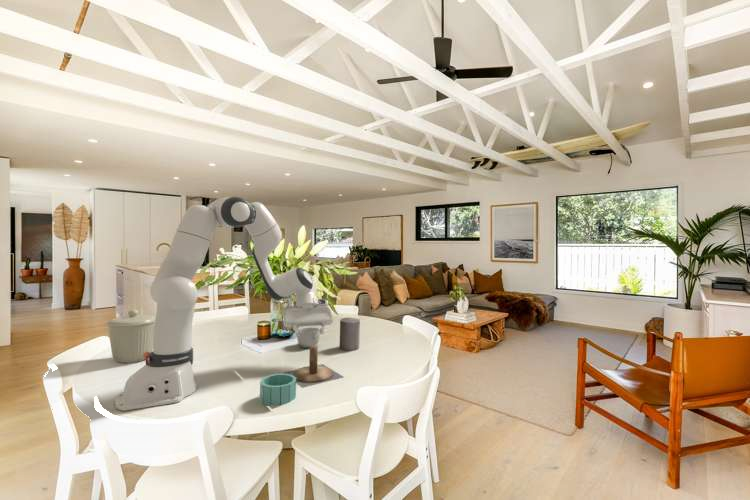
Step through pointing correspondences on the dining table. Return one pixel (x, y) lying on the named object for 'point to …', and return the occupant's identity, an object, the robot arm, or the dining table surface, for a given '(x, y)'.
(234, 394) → the dining table surface
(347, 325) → the pillar candle
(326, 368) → the lid
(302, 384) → the mat
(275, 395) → the bowl
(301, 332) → the teacup
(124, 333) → the canister
